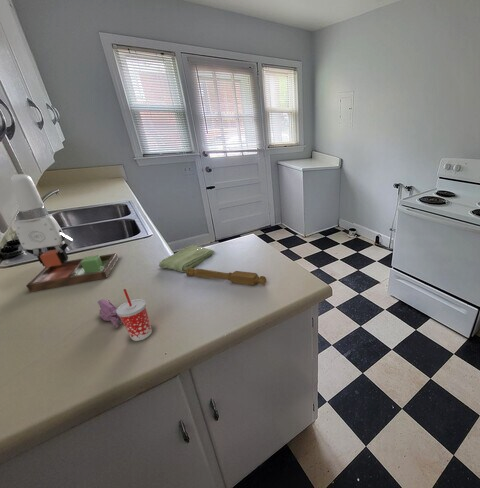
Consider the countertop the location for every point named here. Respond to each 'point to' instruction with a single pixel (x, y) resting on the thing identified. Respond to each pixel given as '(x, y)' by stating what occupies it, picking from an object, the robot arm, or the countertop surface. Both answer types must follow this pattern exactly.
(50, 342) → the countertop surface
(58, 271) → the tray
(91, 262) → the green block
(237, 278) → the tap handle
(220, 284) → the countertop surface
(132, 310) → the beverage cup
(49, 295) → the countertop surface
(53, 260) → the terracotta block
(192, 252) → the washcloth
